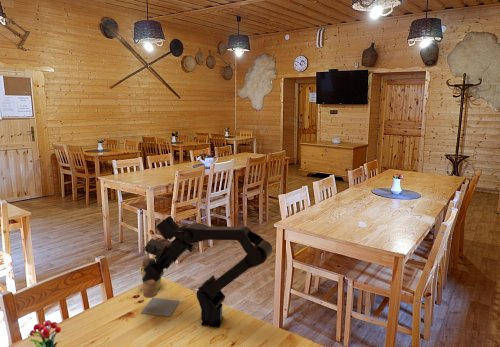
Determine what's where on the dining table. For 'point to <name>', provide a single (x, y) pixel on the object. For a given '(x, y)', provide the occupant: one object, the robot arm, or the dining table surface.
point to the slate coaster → (160, 307)
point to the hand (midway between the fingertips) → (146, 277)
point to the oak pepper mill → (149, 285)
